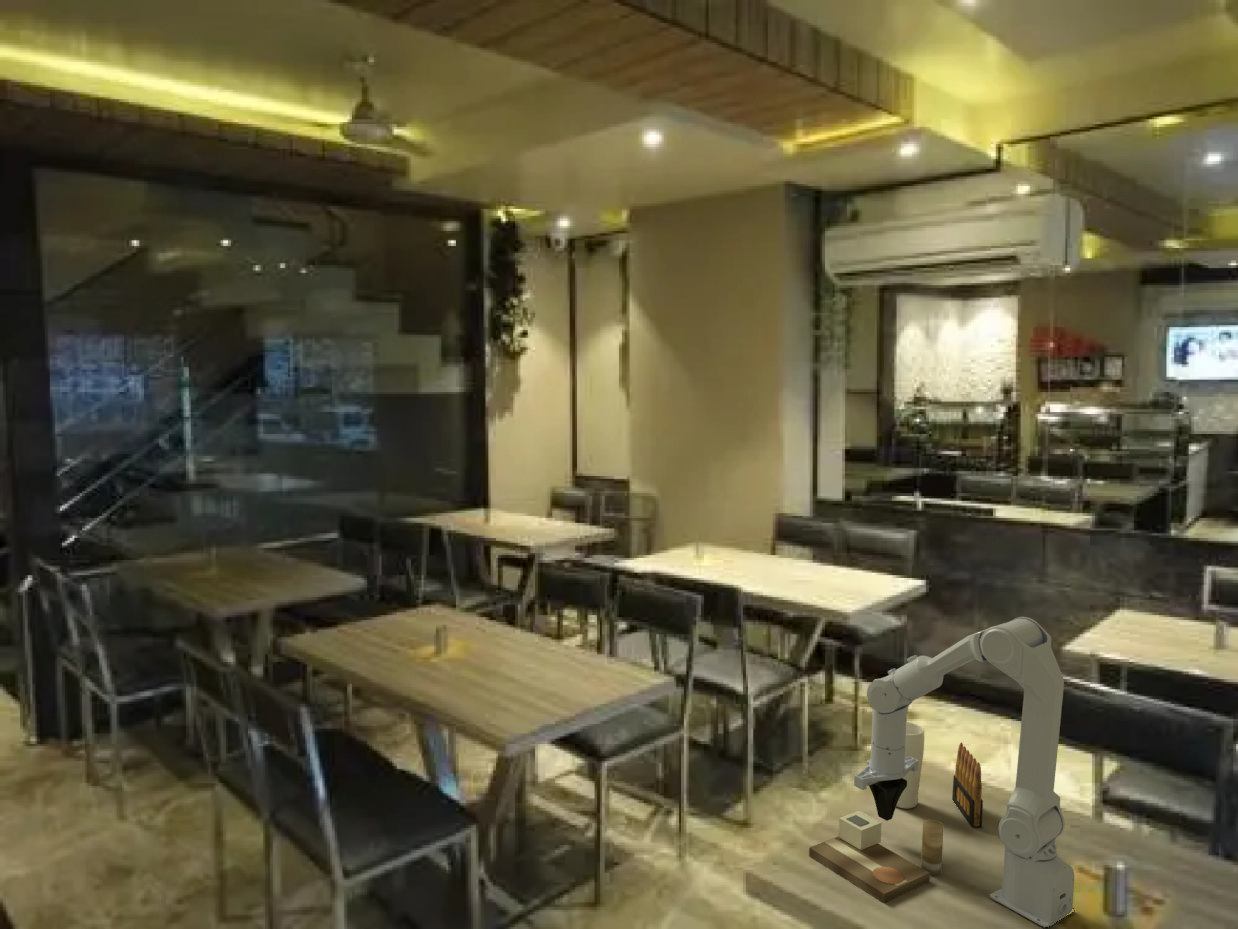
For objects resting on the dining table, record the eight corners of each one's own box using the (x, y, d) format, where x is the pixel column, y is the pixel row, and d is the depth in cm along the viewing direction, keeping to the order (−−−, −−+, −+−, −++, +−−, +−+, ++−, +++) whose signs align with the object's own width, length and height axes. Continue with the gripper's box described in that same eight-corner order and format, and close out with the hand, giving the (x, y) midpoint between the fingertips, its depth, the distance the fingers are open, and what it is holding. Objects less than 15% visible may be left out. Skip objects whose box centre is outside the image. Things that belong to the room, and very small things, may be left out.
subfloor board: (929, 881, 143) (929, 872, 143) (883, 903, 137) (884, 892, 137) (853, 838, 156) (854, 829, 156) (809, 856, 150) (809, 846, 150)
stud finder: (880, 842, 152) (881, 821, 152) (860, 850, 149) (861, 829, 149) (858, 829, 156) (859, 809, 156) (838, 837, 153) (839, 817, 153)
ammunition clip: (951, 800, 171) (954, 740, 170) (961, 800, 171) (964, 740, 170) (971, 828, 160) (975, 764, 159) (982, 828, 160) (985, 764, 159)
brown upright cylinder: (945, 872, 146) (947, 826, 145) (933, 878, 144) (935, 831, 143) (929, 863, 149) (931, 817, 148) (916, 868, 147) (918, 822, 146)
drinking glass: (914, 815, 165) (917, 738, 163) (879, 804, 169) (882, 729, 167) (926, 802, 170) (929, 726, 169) (891, 791, 174) (894, 718, 173)
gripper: (897, 727, 162) (894, 798, 163) (842, 744, 154) (839, 818, 155) (929, 740, 156) (926, 814, 157) (873, 759, 148) (870, 836, 150)
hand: (885, 817), depth 156 cm, fingers closed
